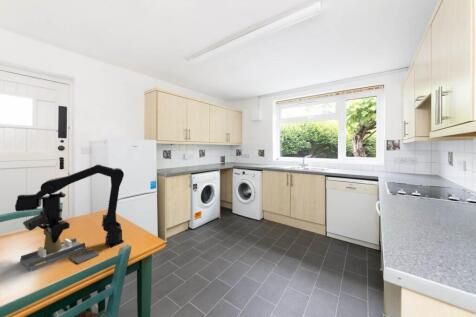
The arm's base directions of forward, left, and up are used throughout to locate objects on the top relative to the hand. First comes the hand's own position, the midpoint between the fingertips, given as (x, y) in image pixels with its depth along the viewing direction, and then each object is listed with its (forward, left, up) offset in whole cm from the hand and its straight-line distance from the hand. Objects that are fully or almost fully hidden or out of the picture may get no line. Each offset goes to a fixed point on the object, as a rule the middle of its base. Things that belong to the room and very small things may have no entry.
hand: (52, 241), depth 85 cm
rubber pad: (-7, +13, -7) cm, 16 cm away
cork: (0, 0, -4) cm, 4 cm away
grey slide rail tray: (-1, 0, -7) cm, 7 cm away
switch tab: (-1, 0, -5) cm, 5 cm away
